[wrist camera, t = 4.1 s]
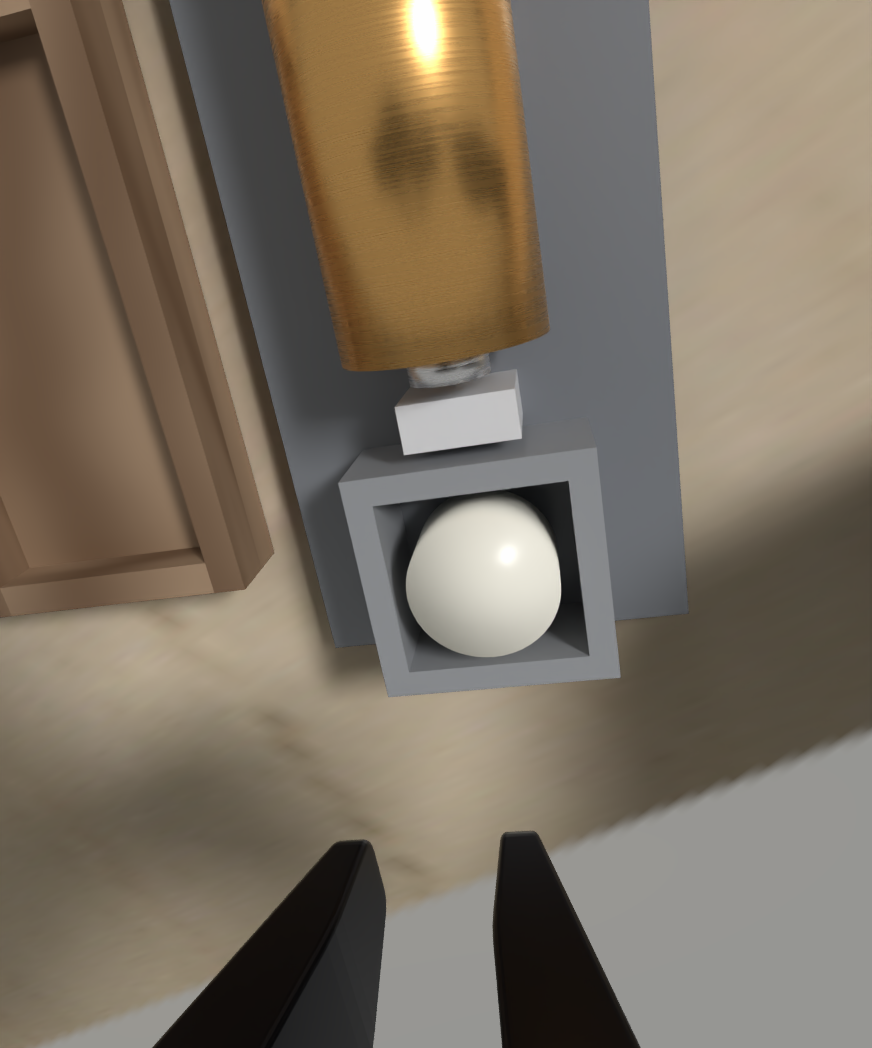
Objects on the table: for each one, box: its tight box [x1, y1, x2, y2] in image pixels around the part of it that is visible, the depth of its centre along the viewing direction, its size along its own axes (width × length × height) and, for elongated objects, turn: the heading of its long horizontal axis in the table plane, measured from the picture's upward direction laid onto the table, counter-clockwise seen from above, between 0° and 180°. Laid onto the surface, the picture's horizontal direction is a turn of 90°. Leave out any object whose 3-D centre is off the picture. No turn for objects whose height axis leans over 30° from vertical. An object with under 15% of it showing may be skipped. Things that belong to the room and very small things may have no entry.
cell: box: [261, 0, 550, 388], centre depth 13 cm, size 4×10×4 cm, turn 10°
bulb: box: [406, 490, 561, 657], centre depth 16 cm, size 3×3×2 cm
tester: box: [169, 0, 689, 697], centre depth 15 cm, size 9×18×4 cm, turn 10°
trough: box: [0, 0, 274, 617], centre depth 17 cm, size 7×13×2 cm, turn 10°
